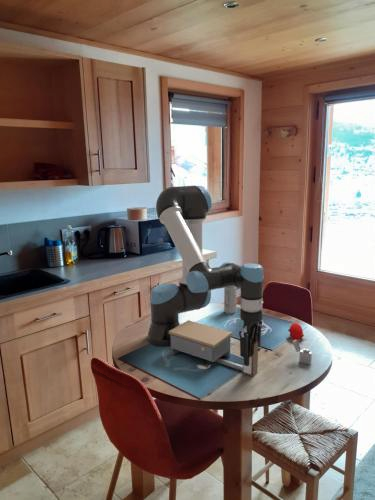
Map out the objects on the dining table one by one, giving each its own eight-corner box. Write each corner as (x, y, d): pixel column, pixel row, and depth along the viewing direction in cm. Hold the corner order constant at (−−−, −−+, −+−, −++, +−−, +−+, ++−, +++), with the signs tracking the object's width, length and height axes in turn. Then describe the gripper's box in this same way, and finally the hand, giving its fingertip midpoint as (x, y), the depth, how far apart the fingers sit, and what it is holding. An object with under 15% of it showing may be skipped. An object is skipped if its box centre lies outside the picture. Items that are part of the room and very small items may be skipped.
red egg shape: (287, 325, 169) (285, 323, 164) (301, 322, 168) (299, 320, 162) (292, 344, 166) (289, 342, 161) (306, 341, 164) (304, 339, 159)
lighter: (311, 362, 144) (312, 343, 143) (310, 364, 143) (311, 344, 141) (292, 357, 148) (293, 338, 146) (291, 359, 147) (292, 340, 145)
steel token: (194, 367, 142) (194, 365, 142) (201, 362, 146) (201, 359, 146) (205, 371, 140) (205, 369, 139) (212, 365, 144) (212, 363, 144)
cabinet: (167, 355, 151) (167, 332, 149) (188, 342, 162) (188, 320, 160) (212, 371, 139) (213, 346, 137) (232, 356, 150) (232, 332, 148)
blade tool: (213, 363, 145) (213, 333, 142) (218, 359, 148) (218, 330, 145) (253, 376, 135) (253, 345, 133) (257, 372, 138) (258, 341, 136)
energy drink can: (237, 313, 192) (238, 285, 189) (226, 314, 191) (226, 286, 188) (233, 309, 198) (234, 281, 195) (222, 310, 197) (222, 282, 194)
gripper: (250, 318, 124) (249, 384, 129) (271, 303, 137) (269, 363, 142) (230, 313, 128) (229, 377, 133) (252, 299, 141) (251, 357, 146)
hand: (250, 370), depth 138 cm, fingers closed on blade tool, 3 cm apart
